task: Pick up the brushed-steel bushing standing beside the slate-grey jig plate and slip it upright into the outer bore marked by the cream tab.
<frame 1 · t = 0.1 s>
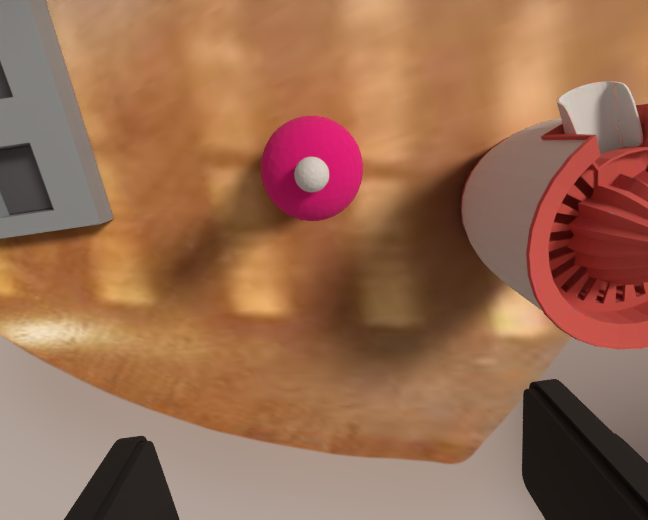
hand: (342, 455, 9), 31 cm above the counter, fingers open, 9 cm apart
jig: (9, 126, 36), on the counter
citrus juicer: (512, 189, 39), on the counter
pepper mill: (312, 158, 38), on the counter
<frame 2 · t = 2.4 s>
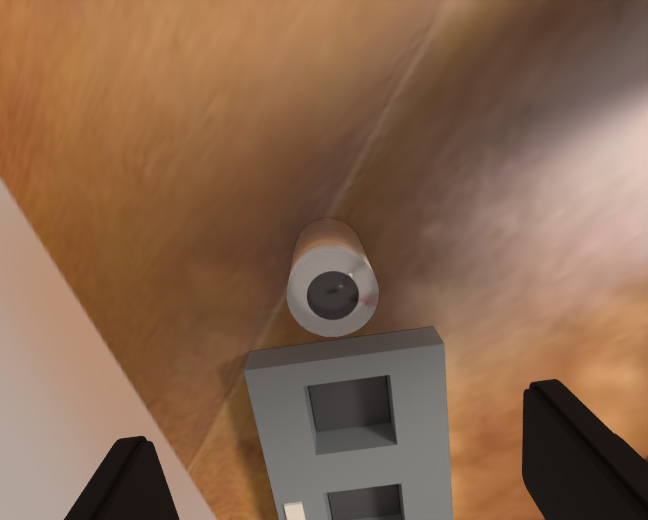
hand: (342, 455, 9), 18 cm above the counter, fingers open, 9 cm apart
bushing: (328, 250, 26), on the counter
jig: (356, 444, 32), on the counter
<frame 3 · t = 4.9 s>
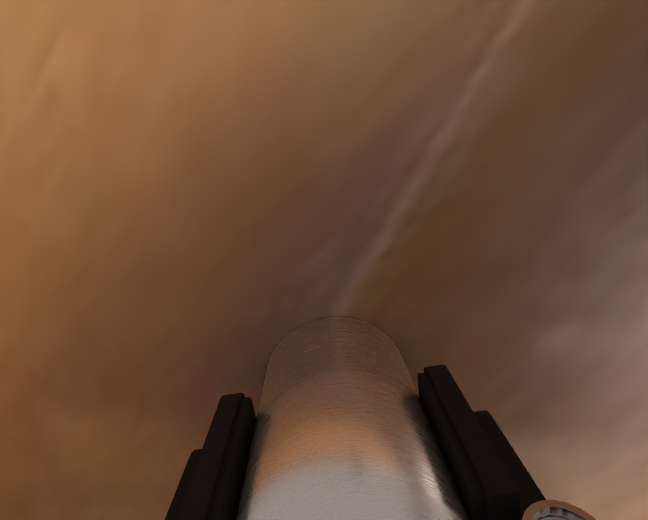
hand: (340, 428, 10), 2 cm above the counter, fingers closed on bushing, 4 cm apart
bushing: (336, 380, 12), on the counter, touching gripper
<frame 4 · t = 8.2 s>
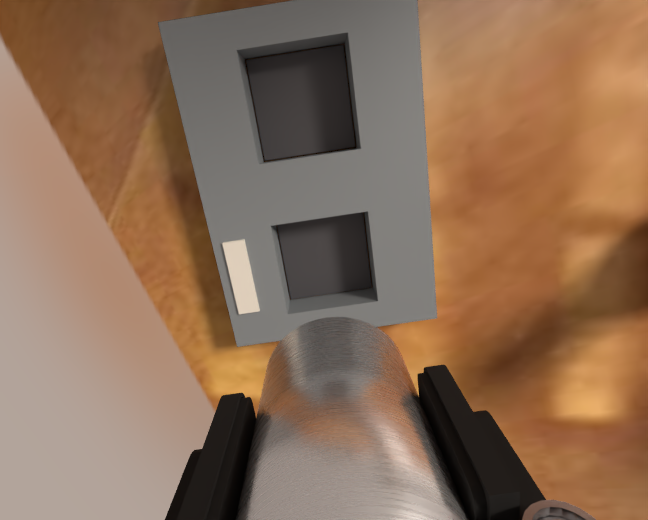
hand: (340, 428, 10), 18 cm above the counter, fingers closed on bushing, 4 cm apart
bushing: (335, 380, 12), point 15 cm above the counter, touching gripper
jig: (314, 184, 26), on the counter
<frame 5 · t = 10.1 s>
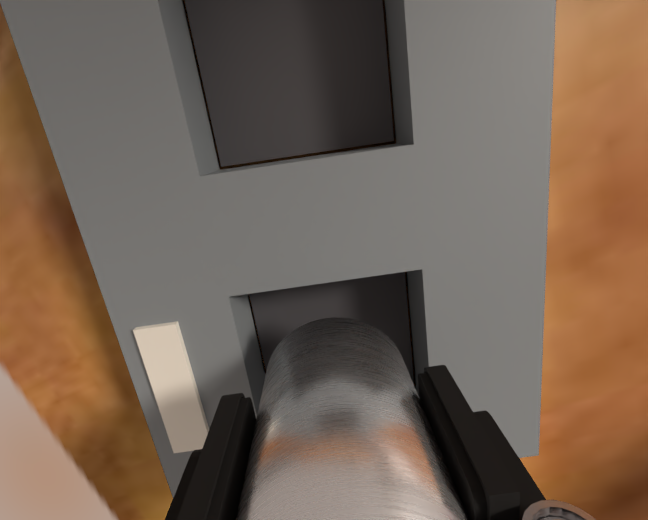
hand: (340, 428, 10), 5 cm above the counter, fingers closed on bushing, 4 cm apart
bushing: (336, 380, 12), point 3 cm above the counter, touching gripper
jig: (315, 210, 14), on the counter
when the fingers open (4 cm above the counter, at t = 11.5 s): bushing drops 1 cm, resting on jig.
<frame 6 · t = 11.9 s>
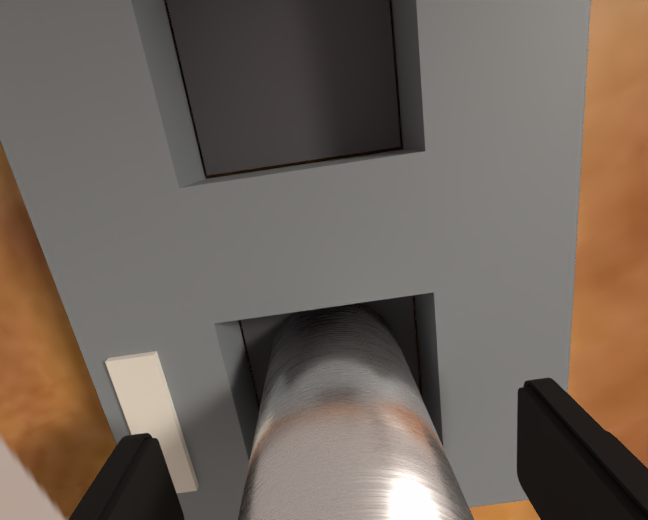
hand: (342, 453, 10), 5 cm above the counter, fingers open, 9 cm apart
bushing: (335, 357, 14), resting on jig
jig: (313, 223, 12), on the counter
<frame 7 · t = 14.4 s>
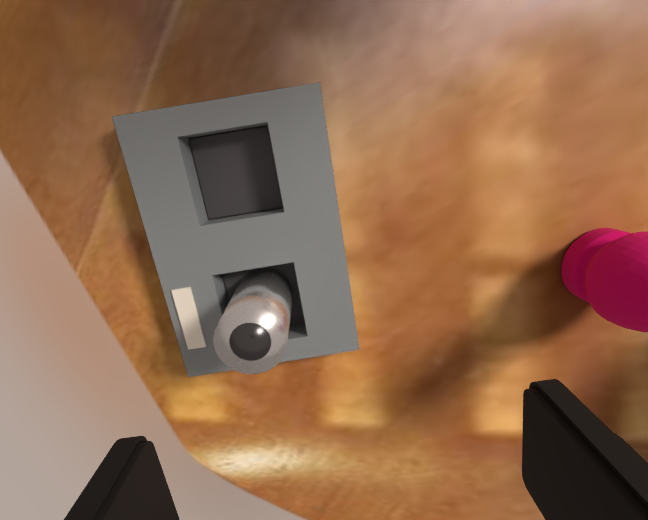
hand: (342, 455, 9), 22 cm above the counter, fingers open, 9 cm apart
bushing: (265, 295, 31), resting on jig
jig: (252, 237, 30), on the counter
pepper mill: (594, 263, 32), on the counter
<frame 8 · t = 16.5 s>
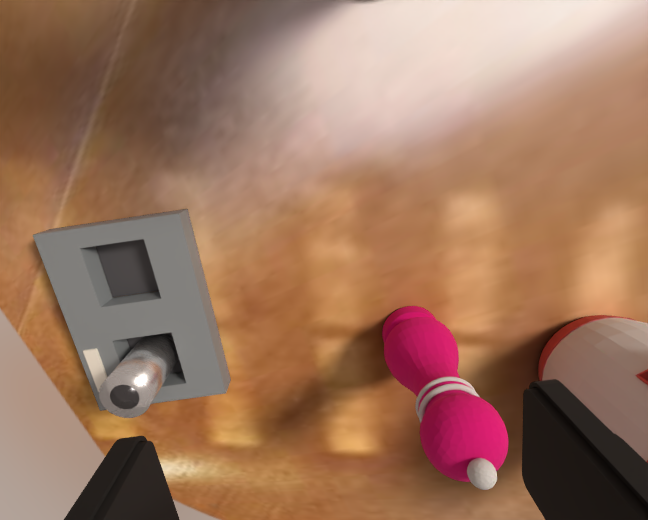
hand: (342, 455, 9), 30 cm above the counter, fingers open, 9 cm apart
bushing: (158, 350, 42), resting on jig
jig: (146, 309, 41), on the counter
citrus juicer: (583, 351, 44), on the counter
pepper mill: (409, 330, 43), on the counter
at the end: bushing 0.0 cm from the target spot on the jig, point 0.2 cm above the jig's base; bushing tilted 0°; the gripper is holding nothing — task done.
